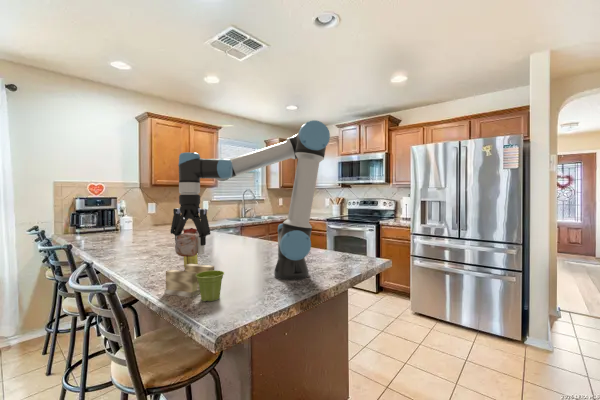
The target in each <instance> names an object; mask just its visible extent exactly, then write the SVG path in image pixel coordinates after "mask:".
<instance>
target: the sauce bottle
mask: <svg viewBox="0 0 600 400" xmlns="http://www.w3.org/2000/svg"><path fill="white" fill-rule="evenodd" d="M190 228H191V227H189V228H188V229H190ZM184 229H185V230H186V229H187V228H184ZM198 259H199V257H198V253H197V254H196V255H195V256H192V257H184V256H183V268H185V265H187V264H198V262H199V261H198Z"/></svg>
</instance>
